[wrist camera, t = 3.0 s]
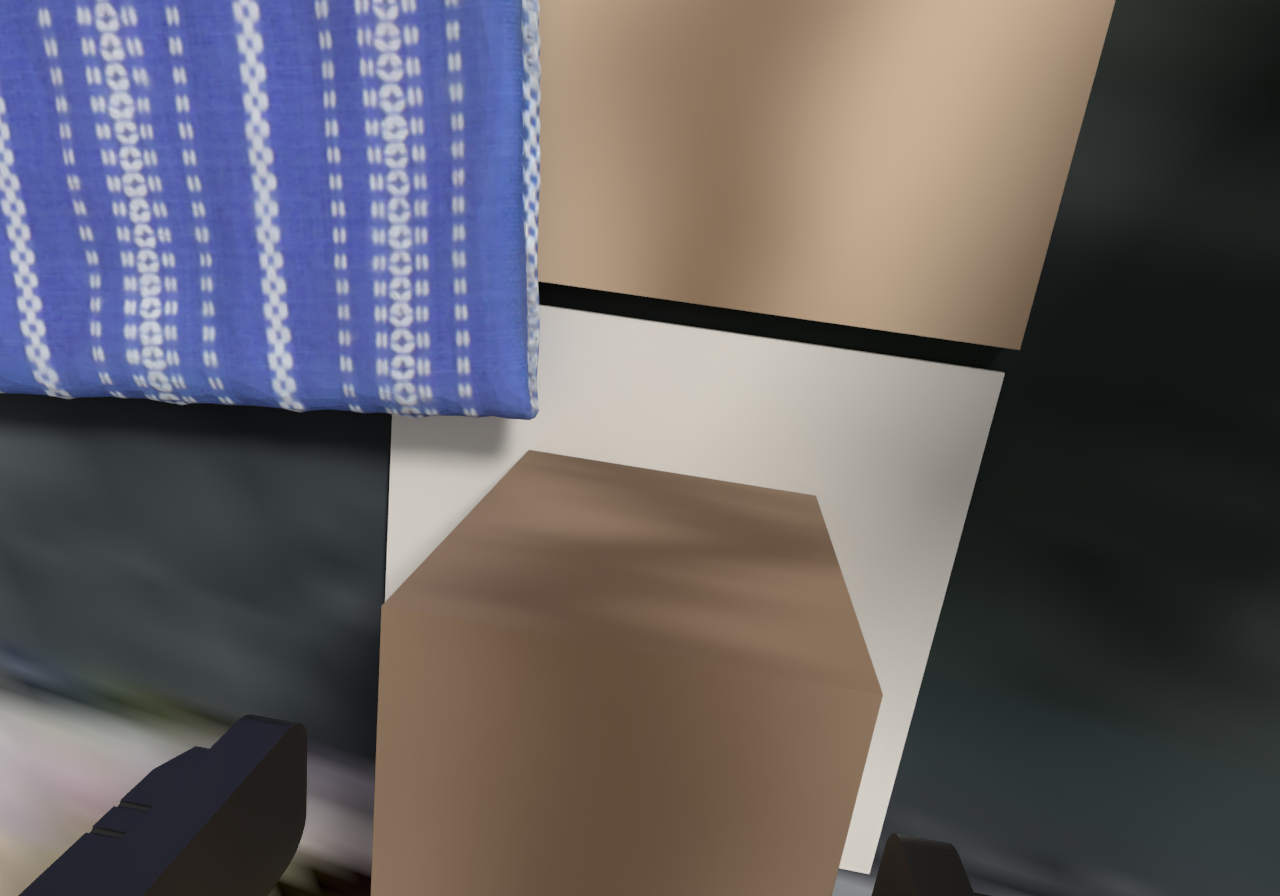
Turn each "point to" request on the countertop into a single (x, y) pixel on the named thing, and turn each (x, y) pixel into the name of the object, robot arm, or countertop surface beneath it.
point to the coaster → (814, 154)
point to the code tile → (744, 469)
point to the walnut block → (621, 694)
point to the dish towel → (272, 203)
